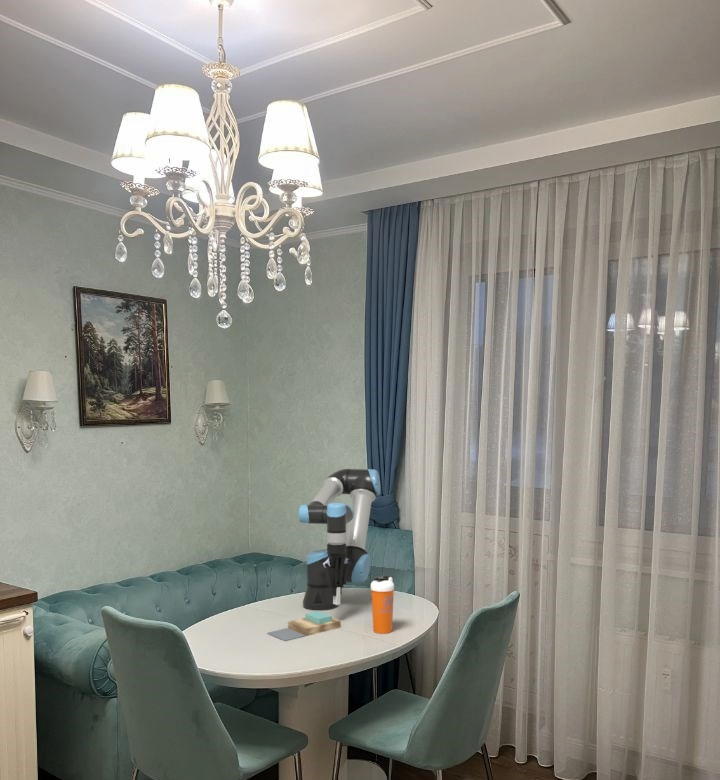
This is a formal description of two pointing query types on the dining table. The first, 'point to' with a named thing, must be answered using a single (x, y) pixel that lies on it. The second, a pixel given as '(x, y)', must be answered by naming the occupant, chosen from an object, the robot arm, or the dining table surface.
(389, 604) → the shaker bottle
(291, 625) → the tan wooden board
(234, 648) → the dining table surface
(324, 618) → the turquoise rectangular block
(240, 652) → the dining table surface
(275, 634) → the mat
